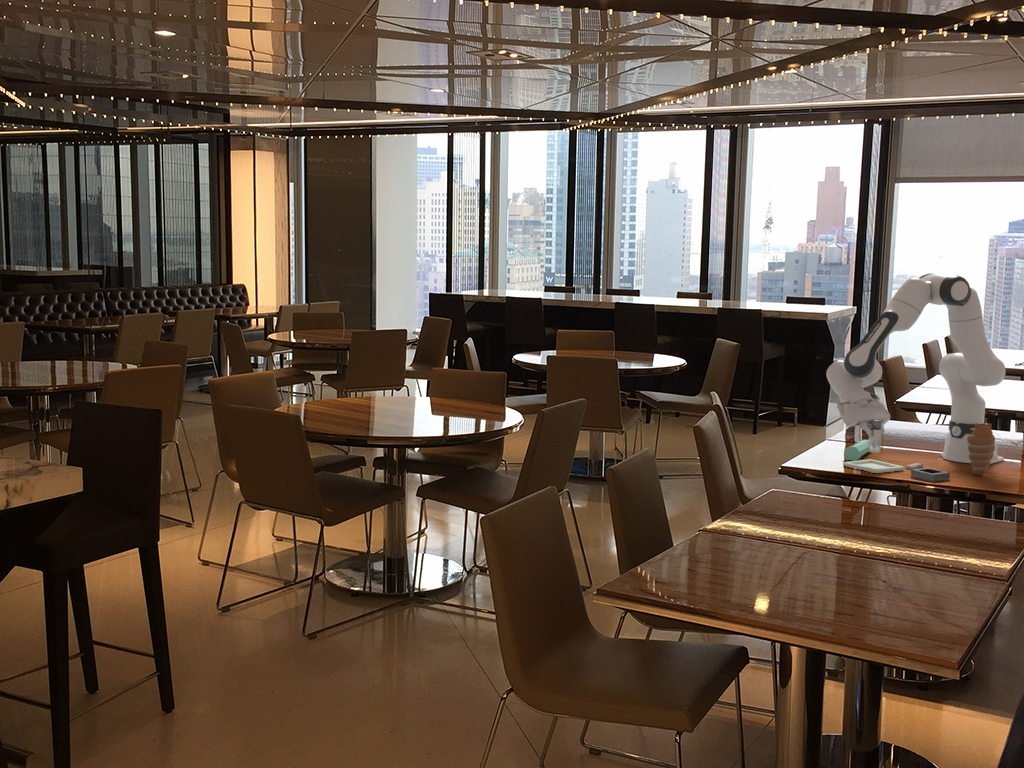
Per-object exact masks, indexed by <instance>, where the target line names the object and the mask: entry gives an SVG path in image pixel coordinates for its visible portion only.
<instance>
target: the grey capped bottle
mask: <svg viewBox="0 0 1024 768" xmlns="http://www.w3.org/2000/svg"><path fill="white" fill-rule="evenodd" d="M881 422H882V421H881V420H871V425H870V426H869V428H872V429H873V431H874V433H873V434H872V435H868V440H869V442H868V453H872V454H873V453H874V454H875V453H876V454H878V453H879V454H880V453H881V444H882V435H883V434H882V429H881Z"/></svg>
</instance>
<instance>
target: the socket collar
mask: <svg viewBox="0 0 1024 768" xmlns="http://www.w3.org/2000/svg"><path fill="white" fill-rule="evenodd" d="M910 471H911V472H910V478H914V479H916V480H917V479H918V480H923V481H927V482H929V483H936V482H943V481H950V477H951V476H950V475H951V472H949V471H946V470H940V469H936V468H931V467H921V468H918V469H913V470H910Z"/></svg>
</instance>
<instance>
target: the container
mask: <svg viewBox="0 0 1024 768" xmlns="http://www.w3.org/2000/svg"><path fill="white" fill-rule="evenodd" d="M868 442H869V439H863V440H861V441H858V442H857V443H855V444H852V445H848V447H846V448H845V449H844V450H843V457H844V458H845V460H846V461H848V460H852V461H859V460H860V459H861V457H864V455H866V454H867V452H868ZM868 453H869V452H868Z"/></svg>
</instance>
